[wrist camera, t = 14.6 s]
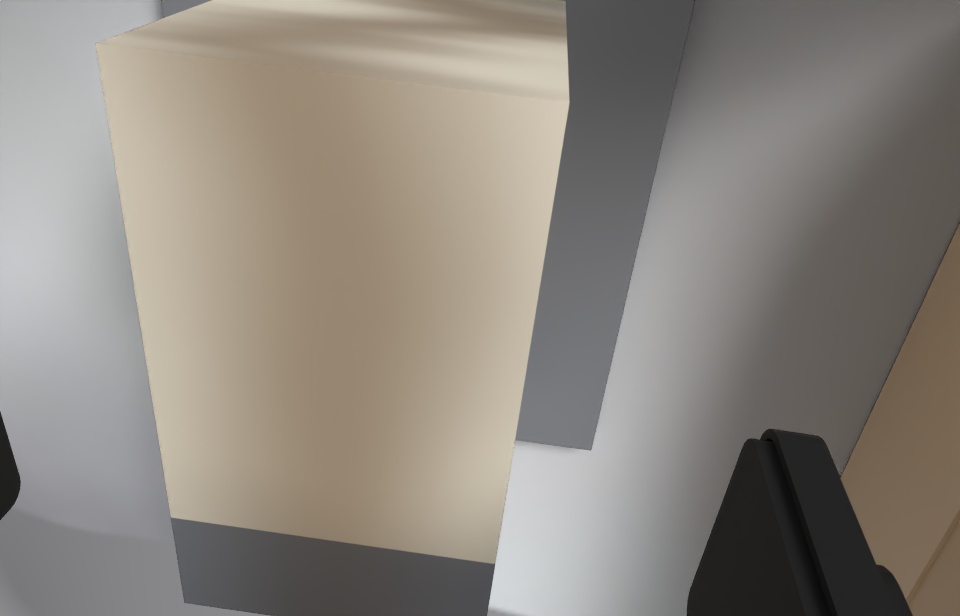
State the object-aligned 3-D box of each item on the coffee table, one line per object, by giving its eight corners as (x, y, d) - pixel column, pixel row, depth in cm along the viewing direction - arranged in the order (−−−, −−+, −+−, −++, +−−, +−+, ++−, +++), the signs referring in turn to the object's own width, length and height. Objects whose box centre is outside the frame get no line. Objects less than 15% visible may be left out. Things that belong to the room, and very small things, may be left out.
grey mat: (706, -78, 13) (712, -77, 13) (590, 435, 19) (591, 450, 19) (161, -142, 14) (145, -143, 13) (215, 383, 20) (206, 397, 19)
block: (565, 0, 14) (569, 101, 8) (507, 391, 18) (481, 646, 12) (297, -32, 14) (94, 42, 8) (307, 364, 18) (184, 602, 12)
